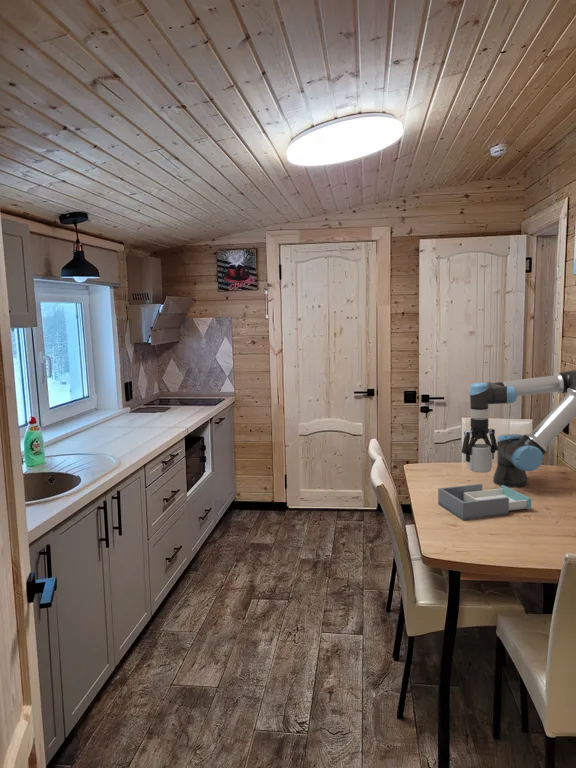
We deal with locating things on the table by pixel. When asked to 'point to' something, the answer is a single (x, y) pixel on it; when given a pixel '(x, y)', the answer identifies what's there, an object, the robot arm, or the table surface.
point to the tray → (514, 497)
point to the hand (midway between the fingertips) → (479, 467)
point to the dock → (471, 503)
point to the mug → (481, 458)
